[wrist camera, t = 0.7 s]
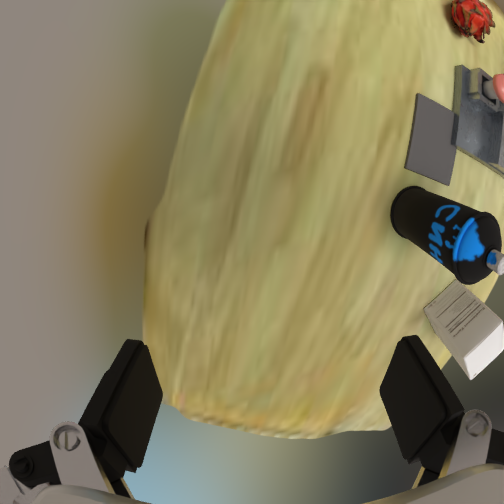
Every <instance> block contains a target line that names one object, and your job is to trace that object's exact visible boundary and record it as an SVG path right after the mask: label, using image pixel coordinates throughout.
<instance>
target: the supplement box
mask: <svg viewBox="0 0 504 504" xmlns="http://www.w3.org/2000/svg"><path fill="white" fill-rule="evenodd" d="M424 311H425V313H426V315H427V317H428V319H429V321H430V323H431V325H432V327H433V329H434V331H435V333H436V335H437V336H438V337H439V338H440V340H441V341H442V342H443V344H444V345H445V346H446V347H447V349H448V350H449V351H450V353H451V354H452V355H453V357H454V358H455V359H456V361H457V362H458V364H459V365H460V366H461V368H462V369H463V370H464V372H465V373H466V374H467V376H468V377H469V379H470V380H472V379H473V378H474V377H475V376H476V375H477V374H478V373H479V372H481V371H482V370H483V369H484V368H485V367H486V366H487V365H488V364H489V363H490V362H491V361H492V360H494V358H496V357H497V356H498V355H499V354H500V353H501V352H502V351H503V349H504V329H503V321H502V320H501V319H500V318H499V317H498V316H497V315H496V314H495V313H494V312H492V310H490V308H488V307H487V306H486V305H485V304H484V303H483V302H482V301H481V300H480V299H479V298H477V297H476V296H475V295H474V294H473V293H472V292H471V291H469V290H468V289H467V288H466V287H465V286H464V285H462V284H461V283H460V282H459V281H458V280H456V279H455V280H454V281H453V282H452V283H451V284H450V285H449V286H448V287H447V288H446V289H445V290H444V291H443V292H442V293H441V294H440V295H438V296H437V297H436V298H435V299H434V300H433V301H432V302H431V303H430V304H428V305H427V306H426V307H425V308H424Z"/></svg>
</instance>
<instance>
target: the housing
mask: <svg viewBox="0 0 504 504" xmlns="http://www.w3.org/2000/svg"><path fill="white" fill-rule="evenodd" d="M491 80H493V78H492V77H491V76H489V75H488V74H487V73H486V72H484V71H483V70H482V69H481V68H477V69H472V70H469V69H468V68H466V67H465V66H463V65H459V66H455V87H454V101H453V112H454V113H455V114H454V123H453V130H452V138H451V145H453V146H455V147H456V148H457V149H458V150H460V151H462V152H464V153H465V154H467V155H469V156H471V157H472V158H474V159H476V160H477V161H479V162H480V163H482V164H484V165H485V166H487V167H488V168H490V169H491V170H493V171H494V172H496V173H497V174H499V175H500V176H502V177H503V178H504V103H502V102H501V101H500V100H499V99H489V98H488V97H487V96H486V95H485V93H484V90H483V82H484V81H491Z"/></svg>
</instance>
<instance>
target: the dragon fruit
mask: <svg viewBox="0 0 504 504" xmlns="http://www.w3.org/2000/svg"><path fill="white" fill-rule="evenodd" d="M451 7H452V18H451V20H452V23H453V26H454V28H455V25H457V26H459V29H460V33H461V34H462V35H464V36H466V37H469V36H472V35H473V36H474V38H475V39H476V40H477V41H478V42H479V43H485V41H483V40H482V32H483V39H484V34H485V33H487V34H488V35H489V34H490V27H494V28H495V23H494V21H493V20H492V12H491V10H490V9H489V8H488V7H487V5H486V4H484V3H482V2H480V1H479V0H454V1H452V4H451ZM489 26H490V27H489Z"/></svg>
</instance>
